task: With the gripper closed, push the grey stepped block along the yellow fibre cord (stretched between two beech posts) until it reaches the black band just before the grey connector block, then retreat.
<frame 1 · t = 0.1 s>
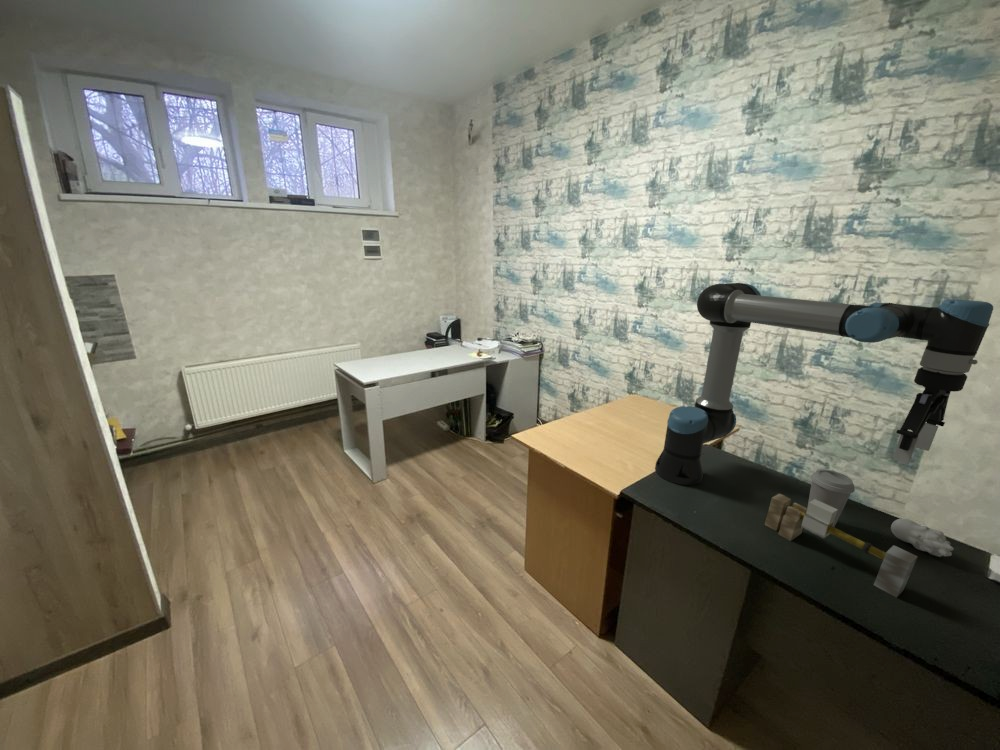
hand: (910, 454, 93), 28 cm above the table, fingers open, 13 cm apart
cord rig: (828, 555, 99), on the table
coffee cup: (819, 522, 112), on the table
grey stepped block: (819, 518, 100), point 9 cm above the table, slide at 0.0 cm
figurine: (917, 547, 103), on the table
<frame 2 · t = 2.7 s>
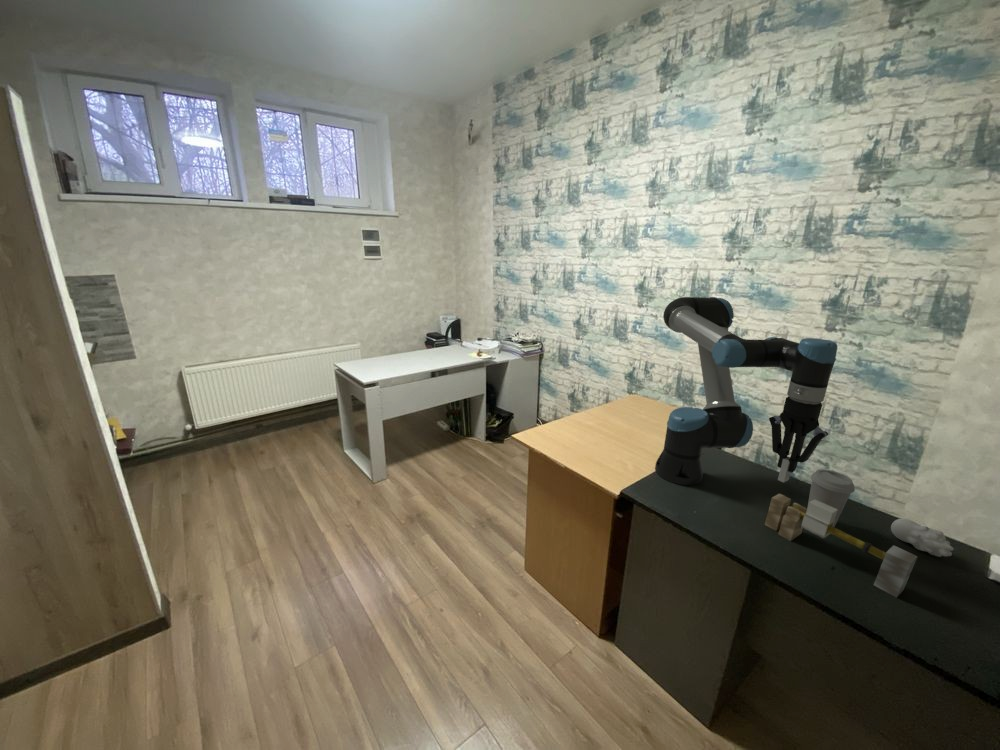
hand: (783, 479, 106), 14 cm above the table, fingers closed
nothing on the table moved.
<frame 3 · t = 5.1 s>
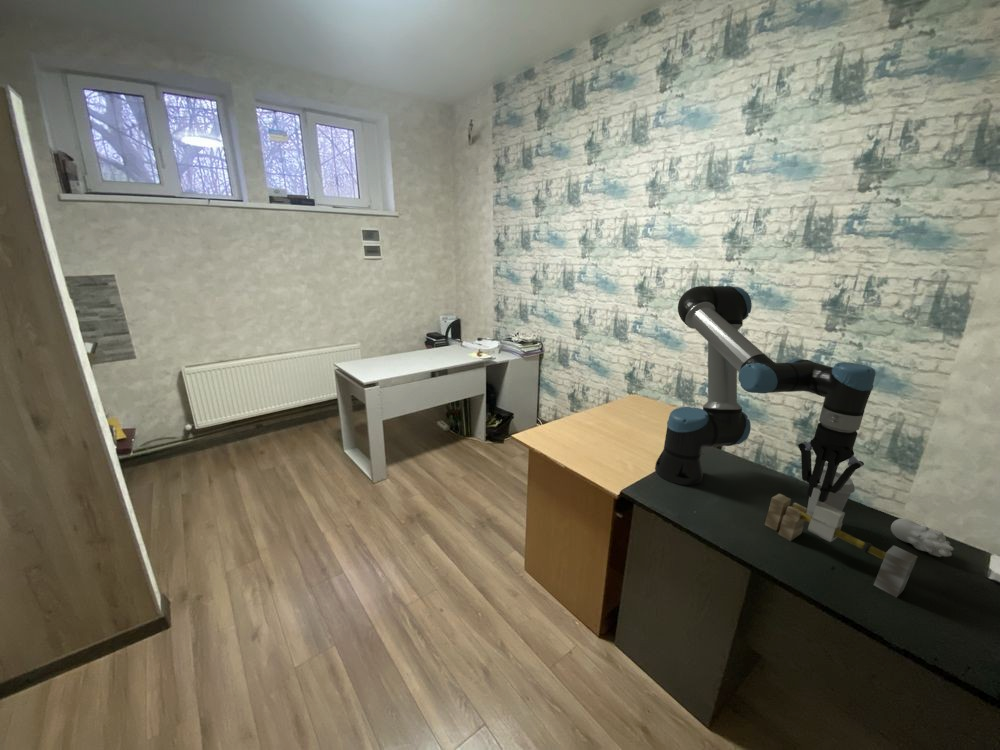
hand: (813, 509, 101), 10 cm above the table, fingers closed
grey stepped block: (826, 521, 99), point 9 cm above the table, slide at 1.5 cm, touching gripper
everything else where it was.
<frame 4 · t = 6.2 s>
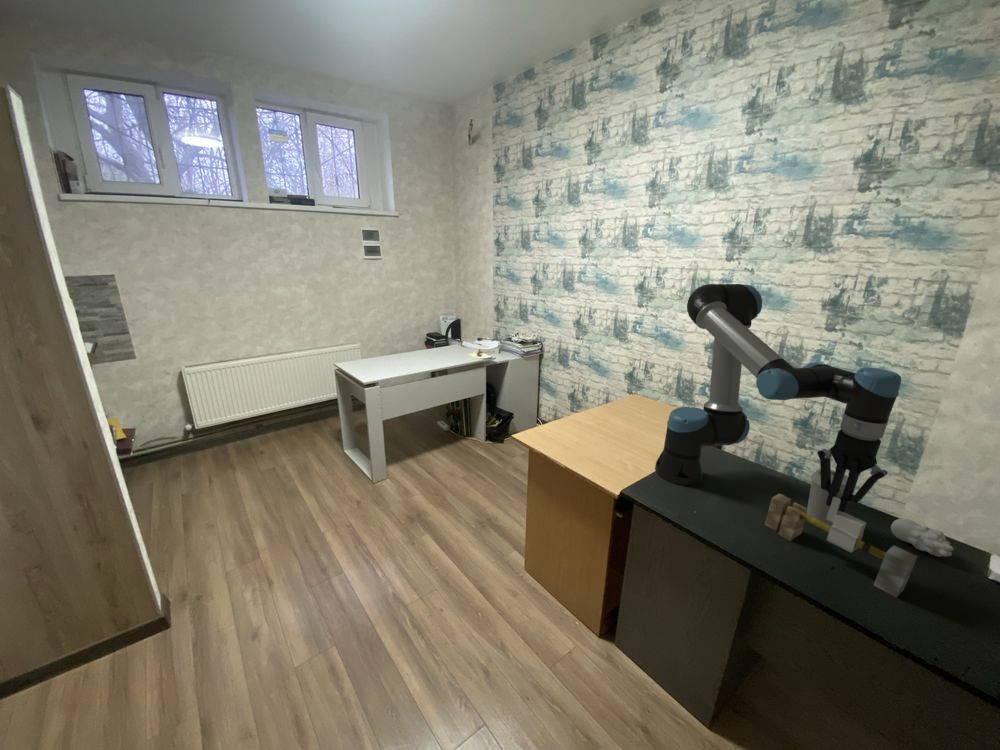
hand: (832, 519, 97), 10 cm above the table, fingers closed
grey stepped block: (846, 531, 95), point 9 cm above the table, slide at 5.7 cm, touching gripper
everything else where it was.
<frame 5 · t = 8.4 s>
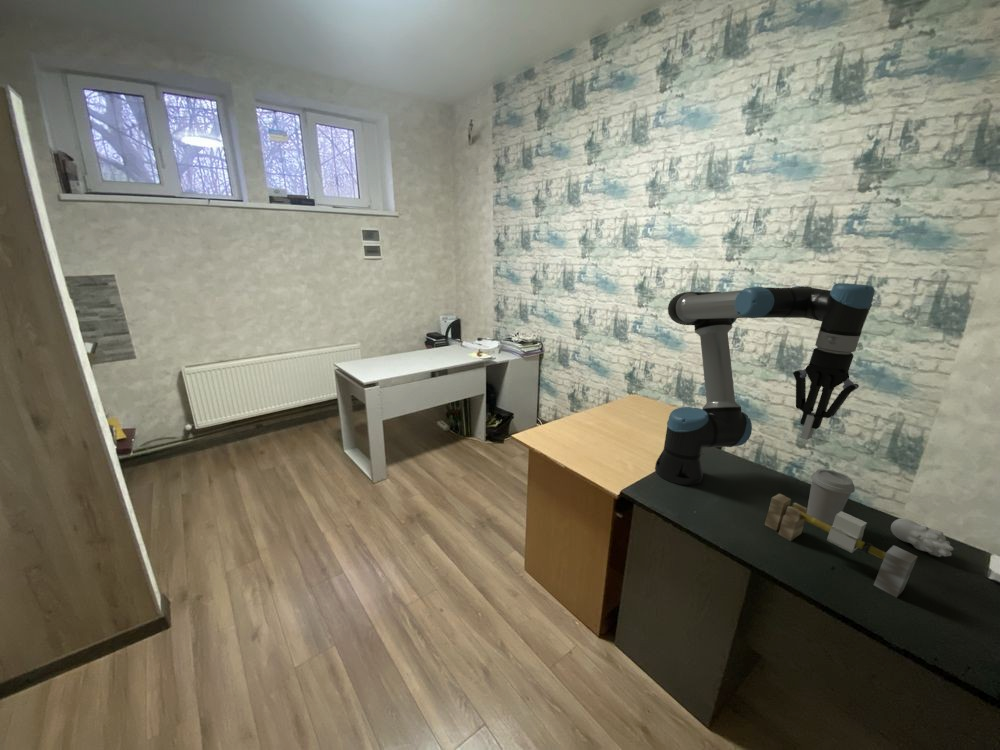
hand: (805, 437, 100), 28 cm above the table, fingers closed
grey stepped block: (846, 531, 95), point 9 cm above the table, slide at 5.7 cm
everything else where it was.
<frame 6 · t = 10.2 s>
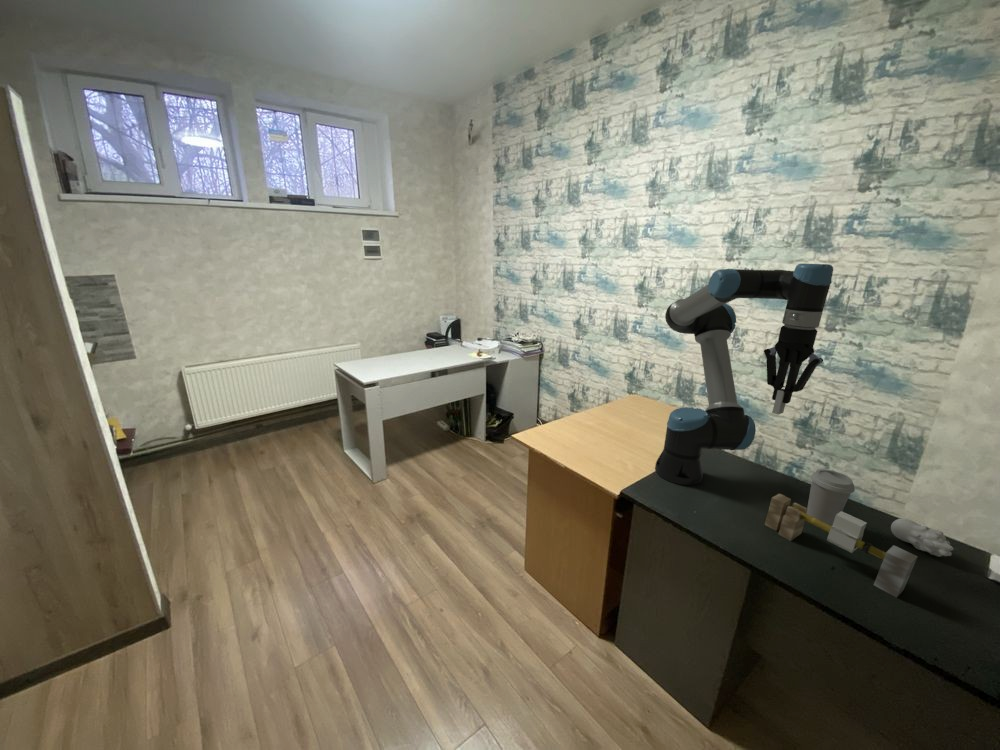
hand: (777, 412, 105), 32 cm above the table, fingers closed
nothing on the table moved.
at the end: grey stepped block slide at 5.7 cm; the gripper is holding nothing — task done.
